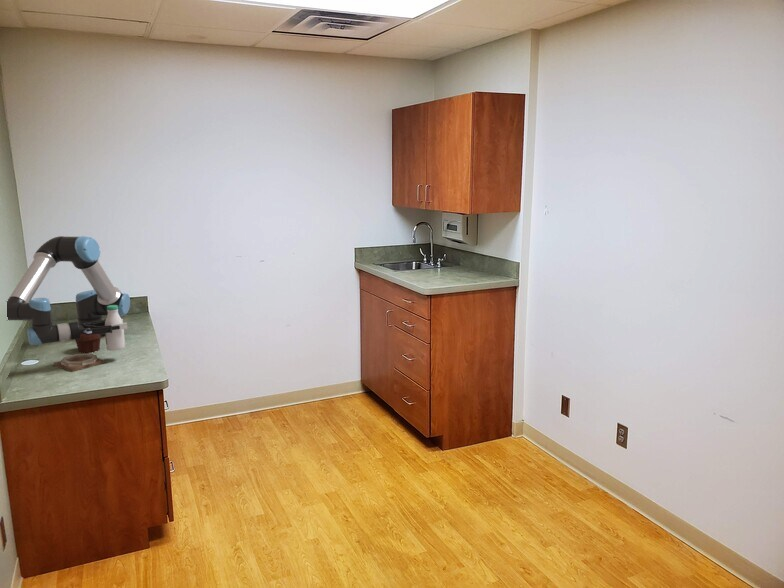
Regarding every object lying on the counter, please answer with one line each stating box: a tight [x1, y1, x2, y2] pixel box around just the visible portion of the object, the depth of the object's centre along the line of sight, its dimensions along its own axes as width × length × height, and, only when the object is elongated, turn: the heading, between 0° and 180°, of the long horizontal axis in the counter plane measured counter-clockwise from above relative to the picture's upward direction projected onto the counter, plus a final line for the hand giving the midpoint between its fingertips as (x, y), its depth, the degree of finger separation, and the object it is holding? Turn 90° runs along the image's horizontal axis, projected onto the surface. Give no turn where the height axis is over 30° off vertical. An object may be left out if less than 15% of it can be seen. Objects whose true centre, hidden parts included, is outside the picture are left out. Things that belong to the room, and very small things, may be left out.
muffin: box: [74, 334, 102, 354], centre depth 290 cm, size 12×11×10 cm
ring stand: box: [53, 353, 106, 372], centre depth 271 cm, size 15×15×3 cm
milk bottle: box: [104, 305, 126, 352], centre depth 274 cm, size 8×8×20 cm
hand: (124, 323), depth 277 cm, fingers closed on milk bottle, 7 cm apart
